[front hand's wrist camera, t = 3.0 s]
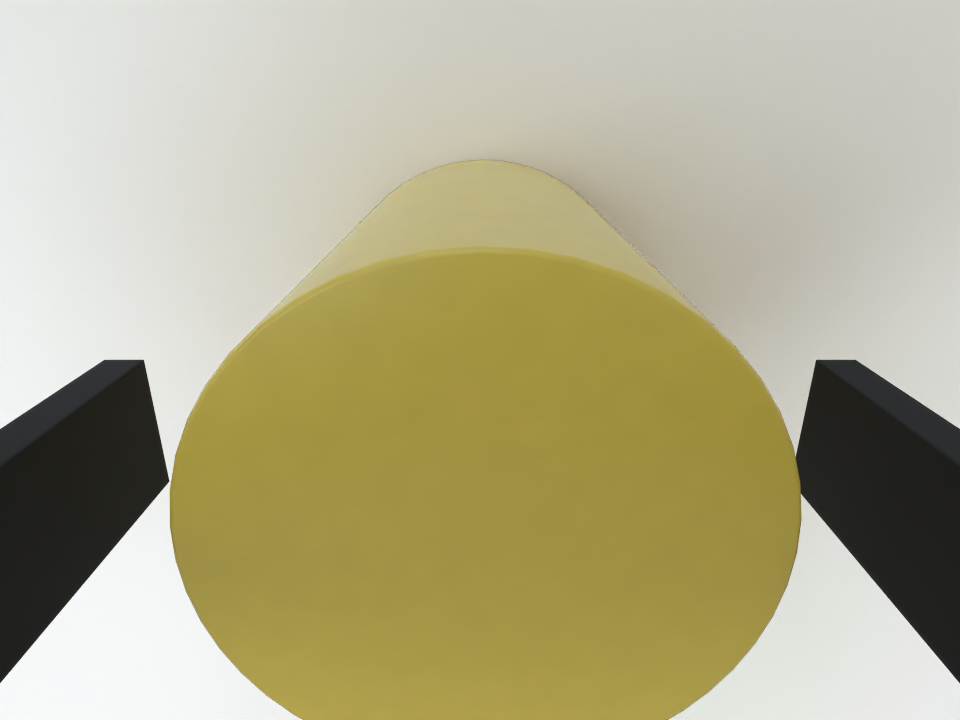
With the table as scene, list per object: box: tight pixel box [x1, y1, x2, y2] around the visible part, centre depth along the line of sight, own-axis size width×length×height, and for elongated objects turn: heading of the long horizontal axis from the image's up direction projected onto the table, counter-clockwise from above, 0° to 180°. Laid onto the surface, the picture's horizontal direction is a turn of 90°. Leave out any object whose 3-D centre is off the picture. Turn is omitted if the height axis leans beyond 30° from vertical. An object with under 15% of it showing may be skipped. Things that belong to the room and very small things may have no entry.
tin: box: [170, 160, 801, 720], centre depth 13 cm, size 8×8×11 cm
